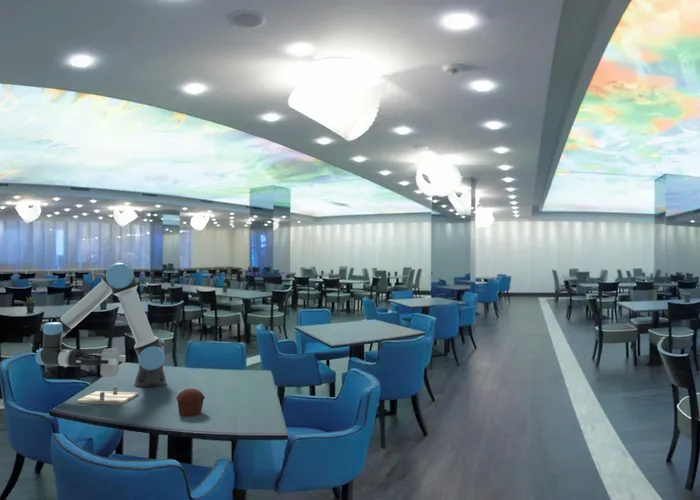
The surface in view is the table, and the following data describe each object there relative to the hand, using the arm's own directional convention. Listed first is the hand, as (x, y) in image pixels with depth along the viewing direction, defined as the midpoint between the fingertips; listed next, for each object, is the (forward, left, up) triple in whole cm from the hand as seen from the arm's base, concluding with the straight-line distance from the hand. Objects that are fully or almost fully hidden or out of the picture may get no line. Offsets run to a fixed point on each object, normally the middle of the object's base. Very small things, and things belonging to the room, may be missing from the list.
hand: (120, 360), depth 233 cm
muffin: (-26, +33, -18) cm, 45 cm away
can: (+4, -2, -7) cm, 9 cm away
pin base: (+4, -2, -18) cm, 18 cm away
